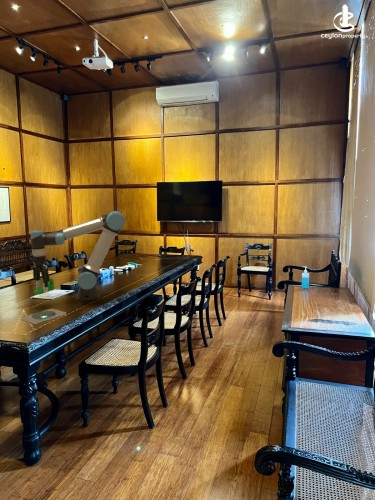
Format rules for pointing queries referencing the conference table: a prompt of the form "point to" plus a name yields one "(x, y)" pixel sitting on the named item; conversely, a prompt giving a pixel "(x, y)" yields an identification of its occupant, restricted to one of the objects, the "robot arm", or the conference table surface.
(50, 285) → the mechanical part
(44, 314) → the carrier plate
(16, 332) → the conference table surface
